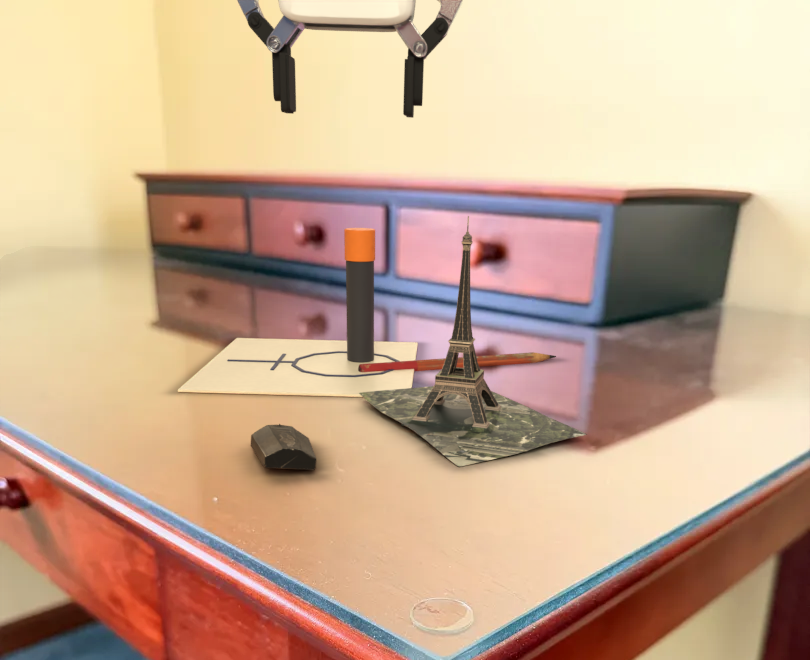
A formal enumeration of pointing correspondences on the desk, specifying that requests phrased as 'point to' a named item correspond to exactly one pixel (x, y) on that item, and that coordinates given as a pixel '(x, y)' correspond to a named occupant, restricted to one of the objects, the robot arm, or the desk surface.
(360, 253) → the marker
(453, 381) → the eiffel tower figurine
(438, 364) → the pencil
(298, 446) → the block
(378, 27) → the robot arm
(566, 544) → the desk surface
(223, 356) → the paper
